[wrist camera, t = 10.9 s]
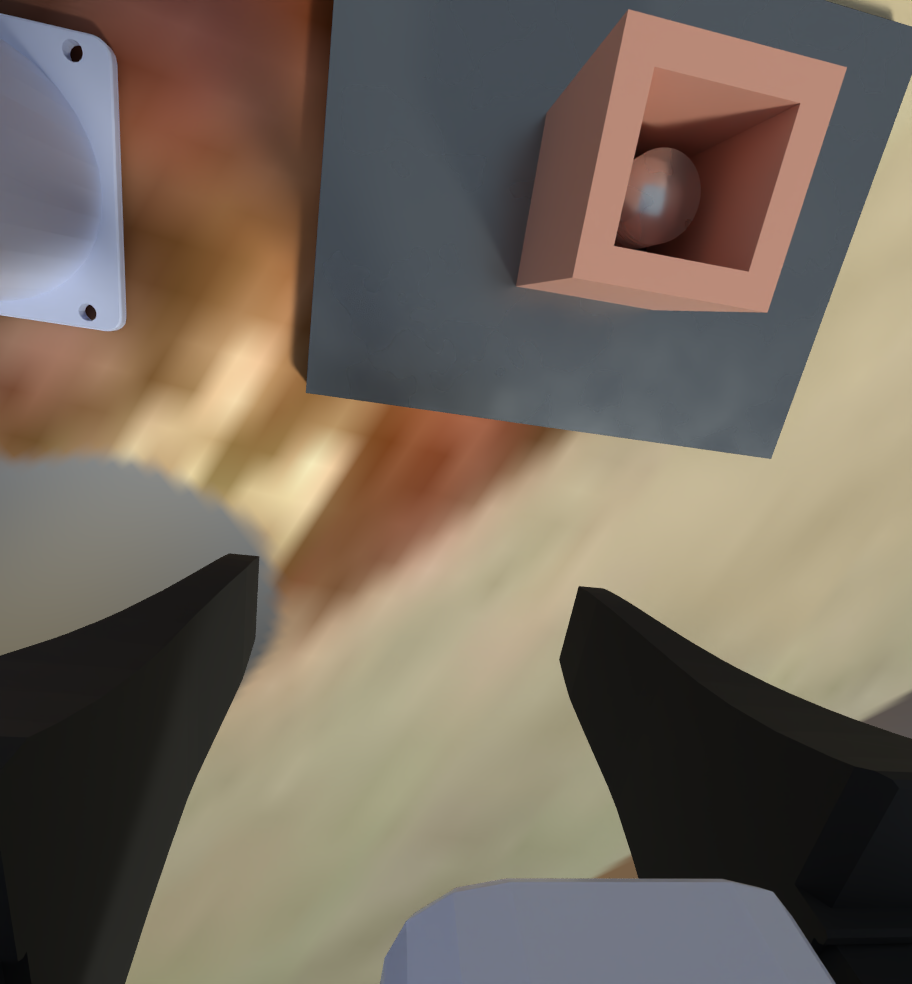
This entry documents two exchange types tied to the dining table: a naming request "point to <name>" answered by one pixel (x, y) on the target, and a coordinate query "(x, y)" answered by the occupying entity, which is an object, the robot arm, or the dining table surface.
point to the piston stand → (505, 208)
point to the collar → (703, 139)
